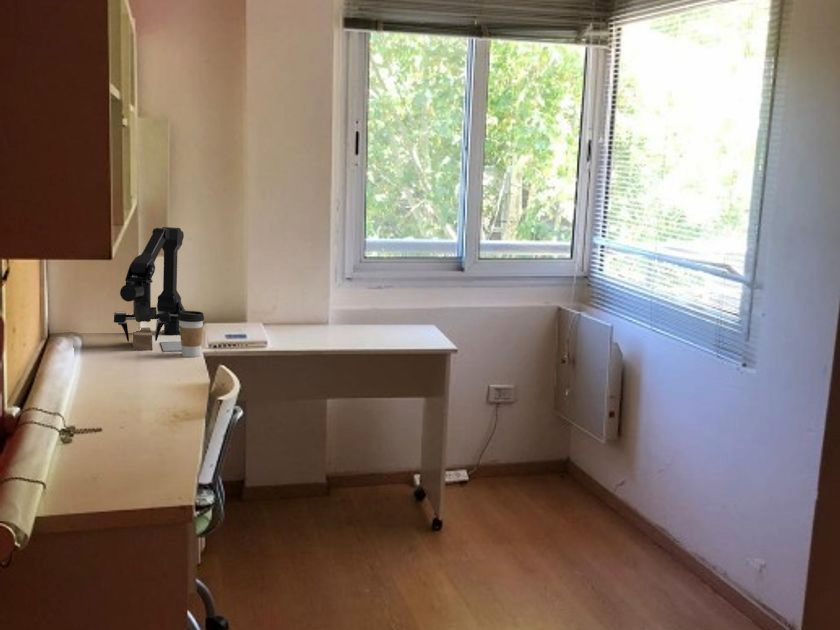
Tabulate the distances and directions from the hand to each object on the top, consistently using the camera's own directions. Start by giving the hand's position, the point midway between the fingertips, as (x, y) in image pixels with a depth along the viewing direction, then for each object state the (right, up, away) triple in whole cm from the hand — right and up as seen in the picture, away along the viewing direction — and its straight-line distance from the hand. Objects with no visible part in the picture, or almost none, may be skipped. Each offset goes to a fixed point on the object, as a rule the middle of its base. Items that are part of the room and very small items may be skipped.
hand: (142, 341), depth 315 cm
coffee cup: (+19, -5, -8) cm, 21 cm away
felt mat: (+11, -2, +2) cm, 11 cm away
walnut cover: (0, -2, 0) cm, 2 cm away
